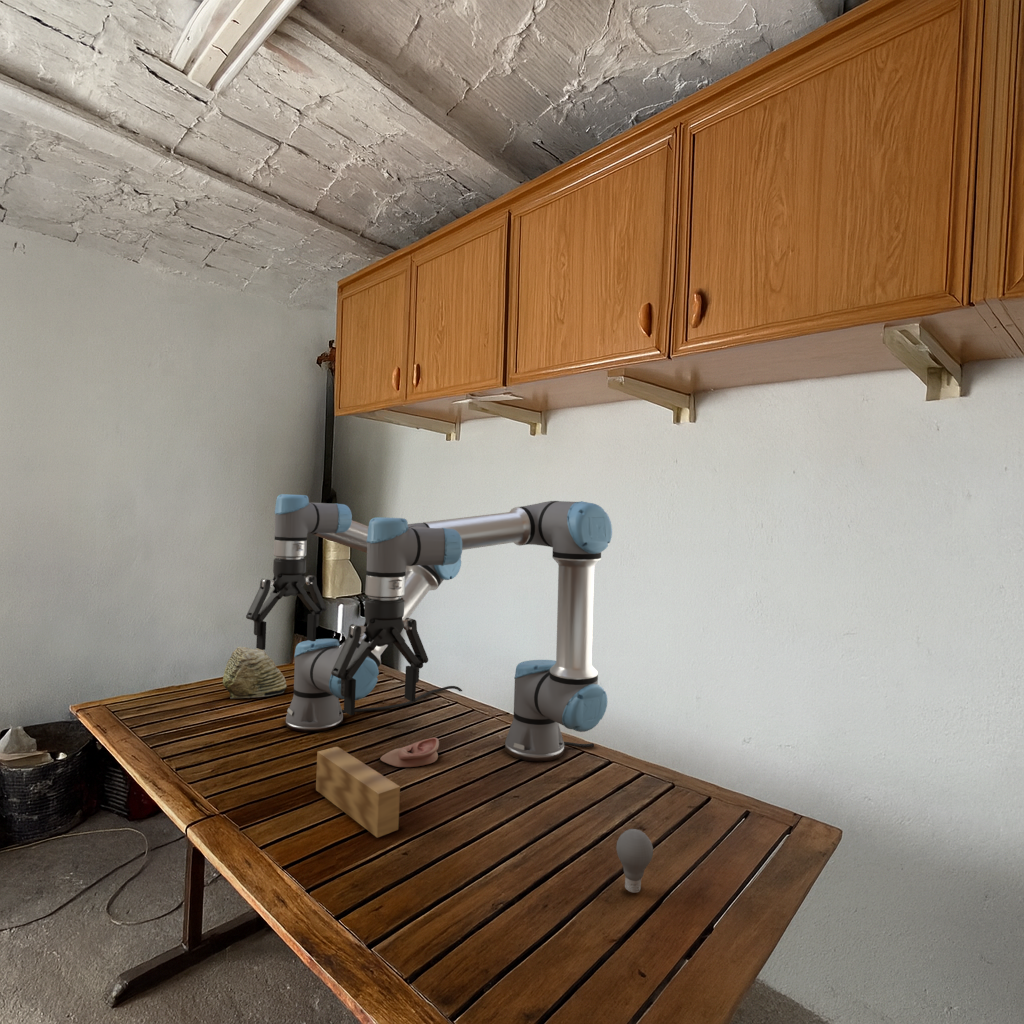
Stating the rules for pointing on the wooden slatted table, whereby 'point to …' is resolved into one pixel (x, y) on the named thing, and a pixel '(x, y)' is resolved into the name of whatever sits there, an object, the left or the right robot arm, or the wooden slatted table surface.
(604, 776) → the wooden slatted table surface
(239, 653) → the fossil
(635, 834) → the light bulb
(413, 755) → the anatomical model
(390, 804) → the bar
